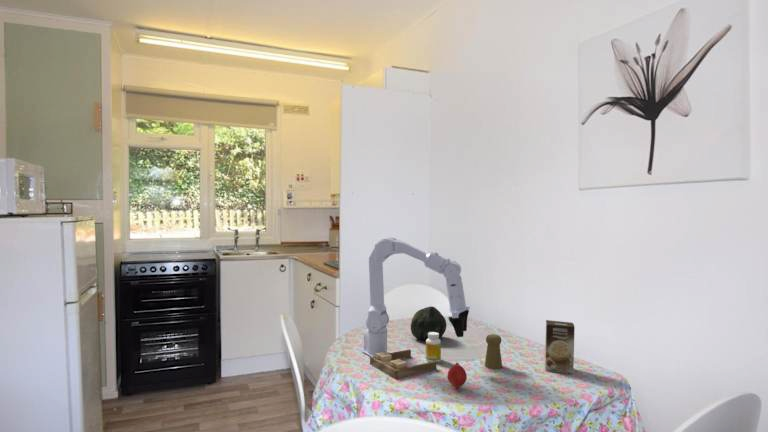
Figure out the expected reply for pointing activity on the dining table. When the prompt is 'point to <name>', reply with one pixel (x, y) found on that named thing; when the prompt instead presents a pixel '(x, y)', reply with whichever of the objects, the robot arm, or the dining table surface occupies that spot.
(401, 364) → the block
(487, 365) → the cork
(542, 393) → the dining table surface
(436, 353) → the supplement bottle
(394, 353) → the corral
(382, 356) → the block
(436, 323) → the squash
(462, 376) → the onion
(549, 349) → the coffee box
